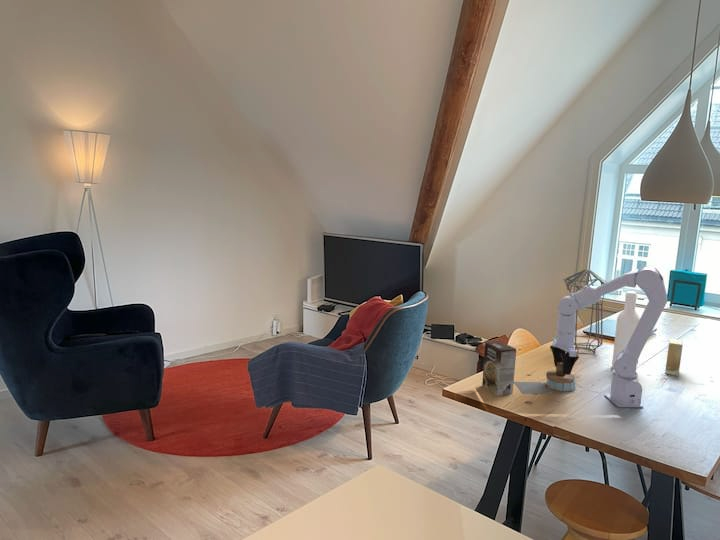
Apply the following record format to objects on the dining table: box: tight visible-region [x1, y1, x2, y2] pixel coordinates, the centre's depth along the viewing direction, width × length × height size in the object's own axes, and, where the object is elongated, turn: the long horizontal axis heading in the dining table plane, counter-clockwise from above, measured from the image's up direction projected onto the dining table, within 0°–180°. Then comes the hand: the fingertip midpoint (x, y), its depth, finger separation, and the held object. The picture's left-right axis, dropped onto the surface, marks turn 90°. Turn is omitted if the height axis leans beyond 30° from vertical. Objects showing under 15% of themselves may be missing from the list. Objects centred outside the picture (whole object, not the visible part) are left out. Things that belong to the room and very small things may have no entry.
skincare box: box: [664, 338, 684, 377], centre depth 194 cm, size 6×4×12 cm
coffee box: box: [481, 340, 517, 396], centre depth 172 cm, size 9×6×16 cm
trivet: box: [513, 381, 553, 395], centre depth 175 cm, size 10×10×1 cm
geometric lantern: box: [563, 269, 608, 355], centre depth 216 cm, size 16×16×35 cm
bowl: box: [546, 377, 577, 392], centre depth 177 cm, size 9×9×4 cm
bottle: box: [611, 290, 641, 370], centre depth 195 cm, size 8×8×30 cm
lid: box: [545, 362, 576, 383], centre depth 176 cm, size 9×9×5 cm
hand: (562, 370), depth 176 cm, fingers open, 7 cm apart
